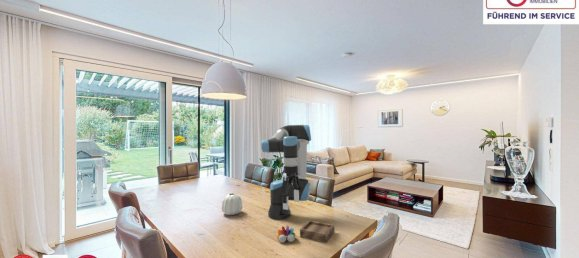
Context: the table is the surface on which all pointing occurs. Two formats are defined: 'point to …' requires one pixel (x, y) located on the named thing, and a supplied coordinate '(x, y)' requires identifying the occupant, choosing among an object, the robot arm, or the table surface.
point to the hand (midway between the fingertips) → (291, 205)
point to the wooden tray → (317, 231)
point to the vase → (231, 204)
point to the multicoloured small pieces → (286, 234)
